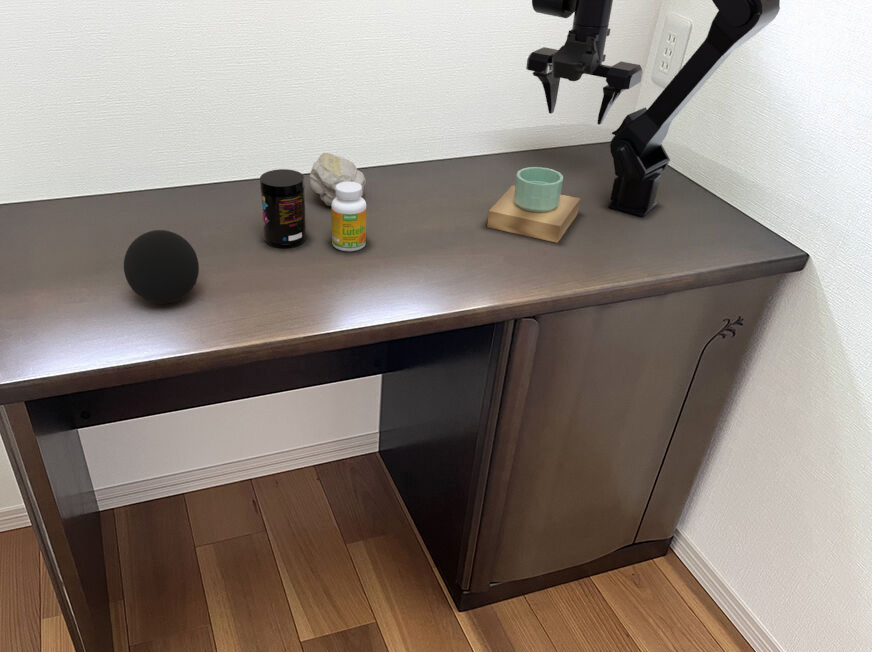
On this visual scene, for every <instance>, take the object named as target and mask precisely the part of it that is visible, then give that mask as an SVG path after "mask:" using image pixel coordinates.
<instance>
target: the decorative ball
mask: <svg viewBox="0 0 872 652" xmlns="http://www.w3.org/2000/svg"><path fill="white" fill-rule="evenodd" d="M199 265H200V263H199V259H198V256H197V253H196V251H195V249H194V248H193V246H192V245H191V243H190V242H189V241H188V240H187V239H186V238H184V237H183V236H181V235H180V234H178V233H176V232H174V231H170V230H166V229H165V230H164V229H155V230H150V231H147V232H144V233H142V234H140V235H139V236H137V237H136V238H135V239H134V240H133V241H132V242H131V243H130V245H129V246H128V247H127V250H126V251H125V255H124V259H123V273H124V277H125V279H126V282H127V284H128V285H129V287H130V289H131V290H132V291H133V292H134V293H135V294H136V295H138V297H140V298H142V299H143V300H145V301H147V302H151V303H154V304H160V305H161V304H162V305H165V304H172V303H175V302H177V301H180V300H182V299H183V298H184V297H186V296H188V294H189V293H191V291H192V290H193V289H194V287H195V285H196V283H197V280H198V277H199V274H200V273H199V272H200V266H199Z"/></svg>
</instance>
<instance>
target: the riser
mask: <svg viewBox="0 0 872 652" xmlns="http://www.w3.org/2000/svg"><path fill="white" fill-rule="evenodd" d="M514 192H515V184H512V185H511V186H510V187H509V188H508V189H507V190H506V192H505V193H504V194H502V196H501V197H500V198H499V199H498V200H497V201H496V202H495V203H494V205H493V206H492V207H491V208H490V209H489V210H488V215H487V223H486V224H487V225H486V227H487V228H489V229H493V230H499V231H502V232H506V233H512V234H516V235H520V236H525V237H529V238H534V239H538V240H541V241H547V242H552V243H555V244H558V243H559V241H560V240H561V239H562V237H563V236H564V235H565V233H566V232H567V230H568V228H569V227H570V226H571V224H572V223H573V222H574V220H575V219H576V217H577V216H578V214H579V208H580V202H581V198H579V197H576V196H575V197H574V196H571V195H565V194H560V200H559V205H558V206H557V207H555V208H554V209H553V210H551V211H548V212H541V213H538V212H530V211H526V210H523V209H521V208H520V207H518V206H517V204H516V203H515V202H514V200H513V199H514Z"/></svg>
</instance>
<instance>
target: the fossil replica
mask: <svg viewBox="0 0 872 652" xmlns="http://www.w3.org/2000/svg"><path fill="white" fill-rule="evenodd" d="M341 182H356V183H359V184H360V185H361V186H362V196H363V195H364V189H365V187H366V185H367V180H366V178H365V175H364V173H363V172H362V171H360V170H359V169H358V168H357V166H356V165H355V163H354V162H352V161H350V159H348V158H345V157H343V156H338V155H335V154H334V153H330V152H322V153H321V154H320V155H319V157H317V160H316V161H315V162H313V164H312V167H311V170H310V174H309V183H310V187H311V189H312V191H313V192H314V193H315V194H318V195H319V198H320V200H321V201H322V202H324V204H325V206H328V207H331V206H332V201H333V199H334V198H336V197H337V196H336V185H337V184H339V183H341Z"/></svg>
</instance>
